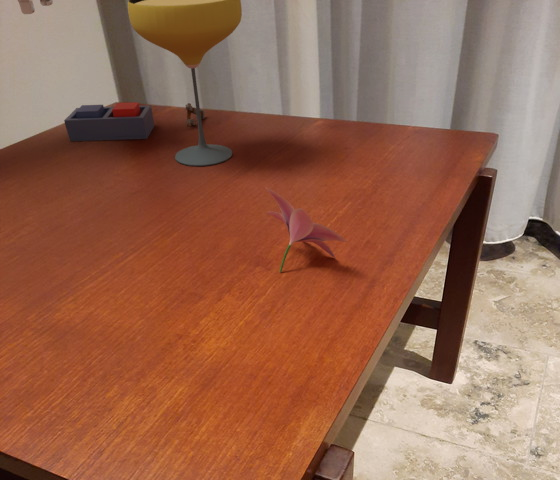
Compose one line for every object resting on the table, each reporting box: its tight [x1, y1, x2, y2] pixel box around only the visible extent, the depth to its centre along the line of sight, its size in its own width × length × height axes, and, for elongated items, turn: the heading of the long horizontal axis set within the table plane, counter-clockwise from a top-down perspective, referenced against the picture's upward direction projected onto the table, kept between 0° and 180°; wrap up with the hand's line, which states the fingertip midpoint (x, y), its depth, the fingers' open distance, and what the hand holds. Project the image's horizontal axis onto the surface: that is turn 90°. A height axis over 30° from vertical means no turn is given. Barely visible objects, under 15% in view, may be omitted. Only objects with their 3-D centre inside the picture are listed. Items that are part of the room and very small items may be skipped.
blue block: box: [76, 104, 105, 119], centre depth 115 cm, size 4×4×4 cm
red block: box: [112, 101, 141, 117], centre depth 114 cm, size 4×4×4 cm
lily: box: [264, 186, 348, 273], centre depth 71 cm, size 12×12×10 cm
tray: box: [63, 104, 155, 142], centre depth 115 cm, size 8×16×4 cm, turn 89°
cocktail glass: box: [127, 0, 243, 167], centre depth 96 cm, size 18×18×25 cm
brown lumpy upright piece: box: [185, 102, 205, 128], centre depth 118 cm, size 2×8×4 cm, turn 167°
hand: (38, 9), depth 98 cm, fingers open, 8 cm apart
